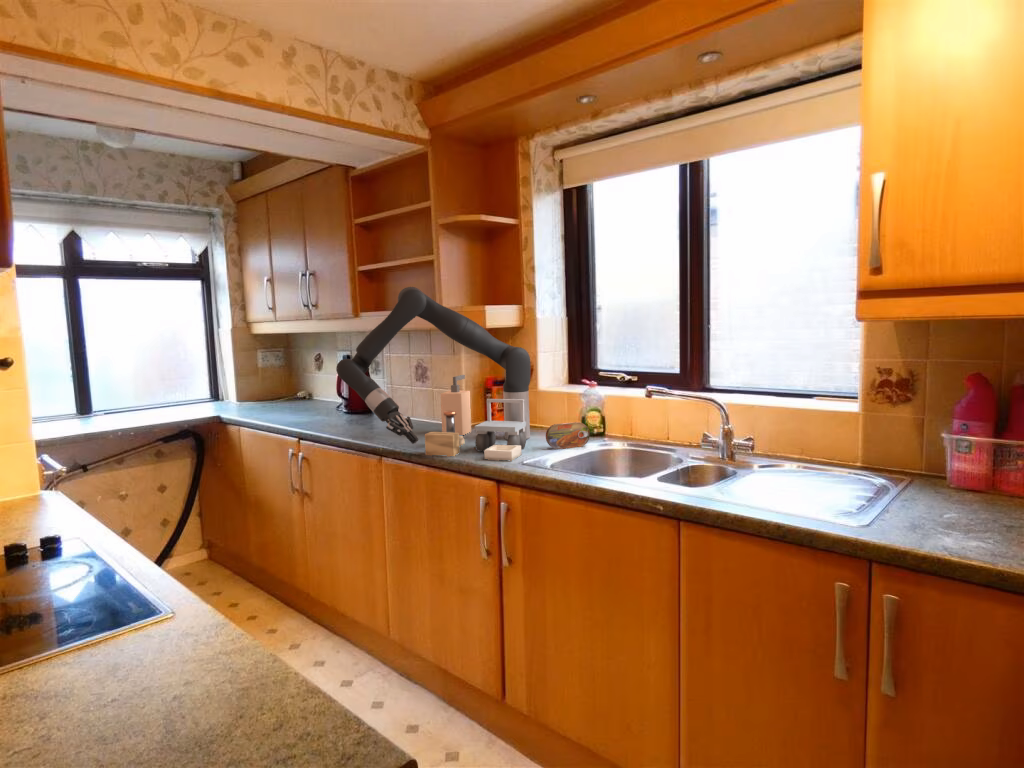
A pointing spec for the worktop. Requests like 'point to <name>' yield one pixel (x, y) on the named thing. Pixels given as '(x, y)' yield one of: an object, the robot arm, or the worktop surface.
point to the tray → (502, 452)
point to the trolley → (501, 428)
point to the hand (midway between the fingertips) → (415, 441)
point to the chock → (442, 443)
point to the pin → (450, 421)
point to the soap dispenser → (457, 407)
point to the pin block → (461, 440)
